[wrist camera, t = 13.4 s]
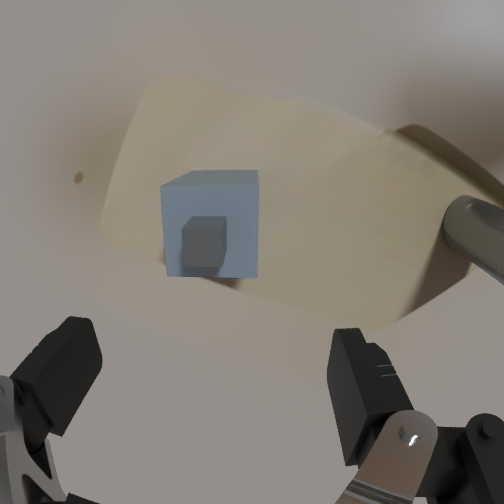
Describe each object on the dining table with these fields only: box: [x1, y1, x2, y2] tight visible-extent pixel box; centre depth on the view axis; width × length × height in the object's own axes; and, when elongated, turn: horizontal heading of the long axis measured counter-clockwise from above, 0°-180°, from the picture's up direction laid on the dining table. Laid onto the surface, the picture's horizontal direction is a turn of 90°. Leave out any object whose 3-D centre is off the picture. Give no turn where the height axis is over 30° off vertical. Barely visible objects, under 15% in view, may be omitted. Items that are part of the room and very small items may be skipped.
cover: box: [160, 170, 259, 278], centre depth 32 cm, size 8×8×18 cm
